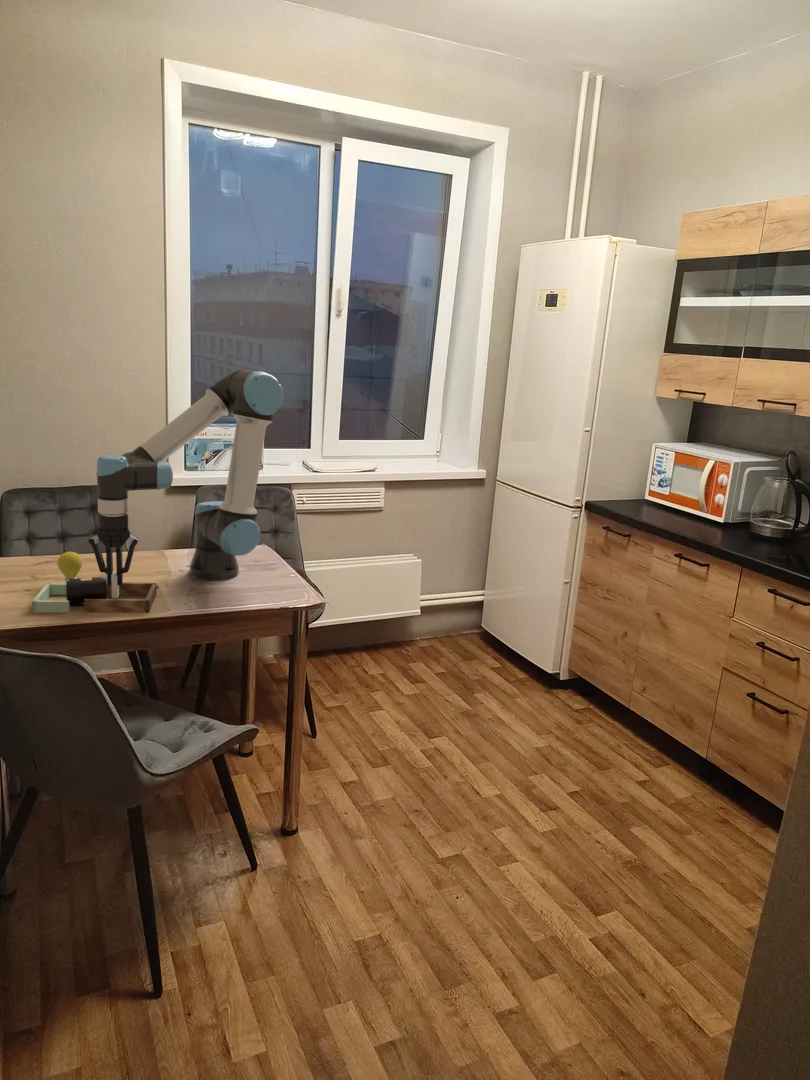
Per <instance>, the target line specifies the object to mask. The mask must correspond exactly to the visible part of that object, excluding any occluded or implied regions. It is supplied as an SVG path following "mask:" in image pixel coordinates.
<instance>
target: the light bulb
mask: <svg viewBox="0 0 810 1080" xmlns="http://www.w3.org/2000/svg"><path fill="white" fill-rule="evenodd" d="M82 566H83V559H82V557H81V555H79V554H78V553H77V552H74V551H66V552H64V553H62V554H61V555H60V556H59V557H58V559H57V567H58V569H59V570H60V572H61V573H62V574H63V576H64V577H65V578H64V583H66V582H67V581H69V579H73V578H74V579H76V578H77V575H78V574H79V572H80V570H81V568H82Z"/></svg>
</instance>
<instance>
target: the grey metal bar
mask: <svg viewBox="0 0 810 1080" xmlns="http://www.w3.org/2000/svg"><path fill="white" fill-rule="evenodd" d="M101 577H103V578H104V579H105V580H106V582H107V574H106V573H104V574H101Z"/></svg>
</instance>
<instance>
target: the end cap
mask: <svg viewBox="0 0 810 1080" xmlns="http://www.w3.org/2000/svg"><path fill="white" fill-rule="evenodd" d="M106 582H107V581H106V580H105V579H104V578H103V577H102V576H98V577H94V576H93V577H91V579H88V580H87V579H85V580H82V579H81V578H80V577H76V579H74V578H73V579H69V581H67V582H65V583H66V595H65V596H66V601H69V606H70V605H71V606H72V605H84V600H85V599H108V598H107V597H108V595H107V592H106Z"/></svg>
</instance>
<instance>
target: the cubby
mask: <svg viewBox="0 0 810 1080" xmlns="http://www.w3.org/2000/svg"><path fill="white" fill-rule="evenodd" d="M157 584H158V583H157V582H133V581H132V582H128V581H127V582H123V583H122V585H121V586H120V585H119V596H146V597H145V598H143V599H141V598H138V599H137V598H130V599H129V598H107V599H85V600H84V604H83V606H84V613H89V614H90V613H94V614H95V613H97V614H99V613H100V614H101V613H103V614H104V613H107V614H110V613H112V614H113V613H115V614H116V613H117V614H118V613H119V614H120V613H121V614H123V613H124V614H126V613H128V614H129V613H130V614H131V613H132V614H134V613H135V614H137V613H138V614H139V613H140V614H142V613H143V614H149V613H150V612H151V609H152V607H153V604H154V602H155V599H156V597H157V594H158V591H157V590H158V589H157ZM106 592H107V596H112V585H108V584H107V581H106ZM144 612H145V613H144Z"/></svg>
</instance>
